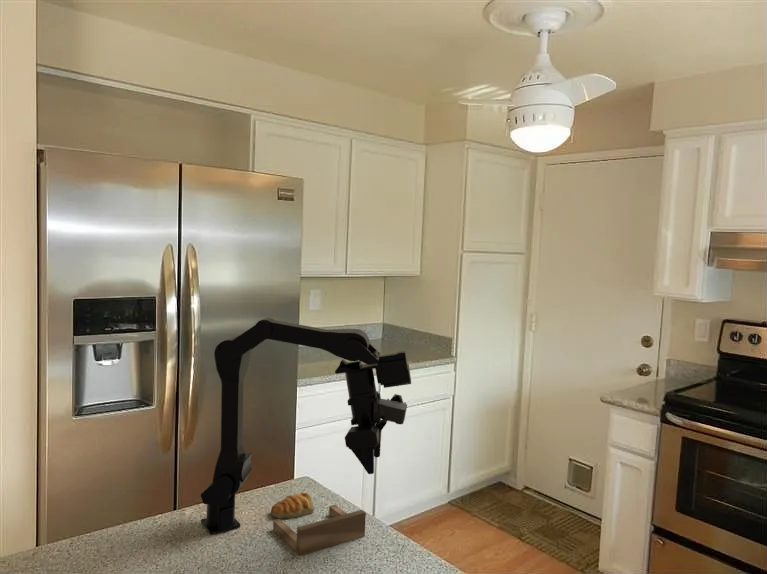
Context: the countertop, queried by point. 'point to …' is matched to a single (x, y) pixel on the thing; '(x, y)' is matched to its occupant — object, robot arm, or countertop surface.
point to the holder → (323, 531)
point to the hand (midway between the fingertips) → (374, 465)
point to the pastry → (293, 506)
